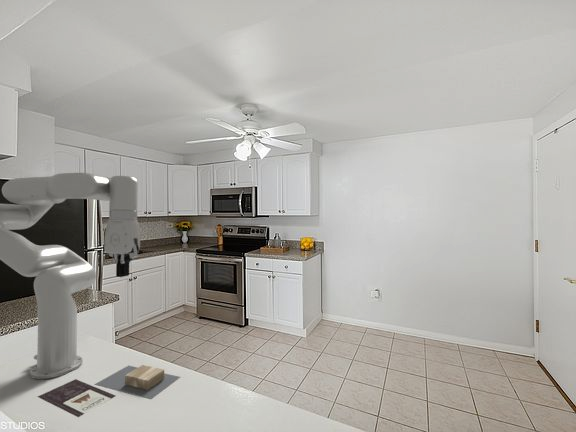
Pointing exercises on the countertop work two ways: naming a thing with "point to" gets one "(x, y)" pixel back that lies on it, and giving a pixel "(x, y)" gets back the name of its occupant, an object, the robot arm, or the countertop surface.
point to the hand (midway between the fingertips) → (122, 276)
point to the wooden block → (144, 377)
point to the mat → (118, 383)
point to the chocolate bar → (76, 397)
